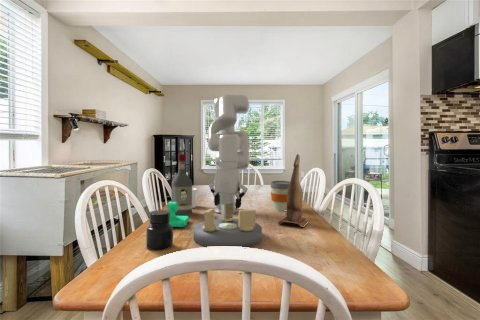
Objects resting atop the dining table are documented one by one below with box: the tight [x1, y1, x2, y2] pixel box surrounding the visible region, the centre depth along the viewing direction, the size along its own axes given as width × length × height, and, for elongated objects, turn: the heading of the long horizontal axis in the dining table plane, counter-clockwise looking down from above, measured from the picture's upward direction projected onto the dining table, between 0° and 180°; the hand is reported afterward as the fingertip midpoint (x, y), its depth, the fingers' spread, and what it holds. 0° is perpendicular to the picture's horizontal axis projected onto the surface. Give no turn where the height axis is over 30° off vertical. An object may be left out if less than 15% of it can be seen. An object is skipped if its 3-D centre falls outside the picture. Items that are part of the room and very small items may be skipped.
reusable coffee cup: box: [270, 180, 290, 212], centre depth 163 cm, size 13×12×15 cm
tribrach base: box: [193, 208, 263, 248], centre depth 114 cm, size 26×26×12 cm
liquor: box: [171, 153, 193, 216], centre depth 149 cm, size 9×9×30 cm
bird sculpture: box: [277, 154, 309, 227], centre depth 133 cm, size 11×12×32 cm
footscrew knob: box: [220, 202, 234, 223], centre depth 122 cm, size 6×5×7 cm
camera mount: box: [166, 201, 189, 228], centre depth 130 cm, size 12×8×10 cm, turn 0°
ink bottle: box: [145, 209, 174, 251], centre depth 104 cm, size 10×9×12 cm
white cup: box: [192, 187, 198, 209], centre depth 166 cm, size 8×8×10 cm
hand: (227, 206), depth 122 cm, fingers open, 9 cm apart
